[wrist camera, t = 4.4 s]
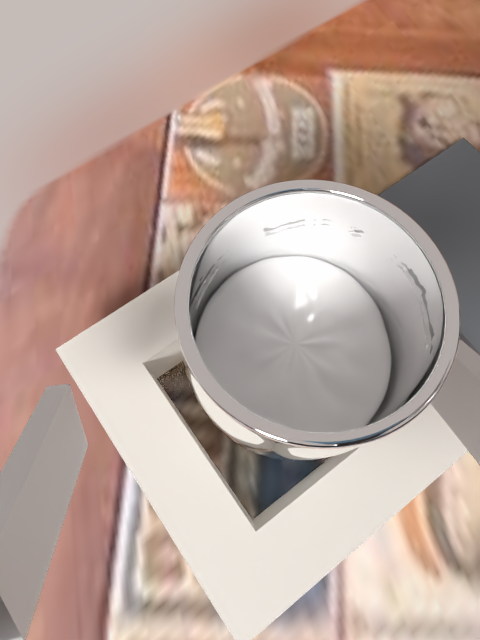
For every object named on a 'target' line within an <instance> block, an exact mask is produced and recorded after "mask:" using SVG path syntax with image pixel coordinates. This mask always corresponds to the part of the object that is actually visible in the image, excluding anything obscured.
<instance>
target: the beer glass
mask: <svg viewBox="0 0 480 640" xmlns="http://www.w3.org/2000/svg"><path fill="white" fill-rule="evenodd" d="M174 317H175V326H176V331H177V336H178V340H179V344H180V347H181V353H182V358H183V363H184V367H185V371H186V374H187V377H188V380H189V383H190V385H191V388H192V390H193V393H194V395H195V397H196V399H197V401H198V403H199V404H200V406H201V408H202V409H203V411H204V412H205V414H206V415H207V416H208V418H209V419H210V420H211V421H212V422H213V423H214V425H215V426H216V427H217V428H218V429H219V430H221V431H222V432H223V433H224V434H225V435H226V436H227V437H229V438H230V439H231V440H233V441H234V442H236V443H237V444H239V445H240V446H242V447H244V448H246V449H248V450H250V451H252V452H254V453H257V454H260V455H263V456H266V457H270V458H274V459H279V460H287V461H311V460H318V459H323V458H327V457H332V456H336V455H340V454H343V453H346V452H348V451H351V450H353V449H355V448H358V447H360V446H362V445H364V444H367V443H370V442H373V441H376V440H379V439H381V438H384V437H386V436H388V435H390V434H392V433H394V432H396V431H397V430H399V429H401V428H402V427H404V426H405V425H407V424H408V423H410V422H411V421H412V420H414V419H415V418H416V417H417V416H418V415H419V414H420V413H422V412H423V411H424V410H425V409H426V408H427V406H428V405H429V404H430V403H431V402H432V401H433V400H434V398H435V397H436V396H437V394H438V393H439V391H440V390H441V388H442V387H443V385H444V383H445V382H446V380H447V378H448V376H449V374H450V371H451V369H452V366H453V364H454V361H455V358H456V354H457V350H458V345H459V339H460V329H461V316H460V305H459V299H458V294H457V290H456V287H455V283H454V280H453V277H452V275H451V272H450V270H449V268H448V265H447V263H446V261H445V259H444V258H443V256H442V254H441V253H440V251H439V249H438V248H437V246H436V245H435V243H434V242H433V241H432V239H431V238H430V237H429V236H428V234H427V233H426V232H425V231H424V230H423V229H422V228H421V227H420V226H419V225H418V224H417V223H416V222H415V221H414V220H413V219H412V218H411V217H410V216H408V215H407V214H406V213H405V212H403V211H402V210H401V209H399V208H398V207H396V206H395V205H393V204H392V203H390V202H388V201H387V200H385V199H383V198H381V197H379V196H377V195H375V194H373V193H371V192H369V191H366V190H363V189H361V188H358V187H355V186H351V185H348V184H344V183H339V182H333V181H326V180H293V181H285V182H280V183H275V184H271V185H268V186H264V187H261V188H258V189H256V190H253V191H251V192H249V193H247V194H245V195H243V196H241V197H239V198H237V199H235V200H234V201H232V202H231V203H229V204H228V205H226V206H225V207H224V208H222V209H221V210H220V211H219V212H217V213H216V214H215V215H214V216H213V217H212V218H211V219H210V220H209V221H208V222H207V223H206V224H205V225H204V226H203V228H202V229H201V230H200V231H199V233H198V234H197V236H196V237H195V238H194V240H193V242H192V243H191V245H190V247H189V248H188V250H187V253H186V255H185V257H184V259H183V262H182V264H181V267H180V270H179V274H178V278H177V283H176V288H175V297H174Z"/></svg>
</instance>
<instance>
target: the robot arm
mask: <svg viewBox="0 0 480 640" xmlns="http://www.w3.org/2000/svg"><path fill="white" fill-rule="evenodd" d="M431 405H432V406H433V407H434V408H435V410H436V411H437V412H438V413H439V415H440V416H441V417H442V418H443V420H444V421H445V422H446V423H447V425H448V426H449V427H450V428H451V430H452V431H453V432H454V433H455V435H456V436H457V437H458V438H459V440H460V441H461V442H462V443H463V445H464V446H465V447H466V448H467V450H468V451H469V452H470V454H471V455H472V456H473V457H474V459H475V460H476V461H477V462H478V464H479V465H480V356H479V355H478V354H477V353H476V352H475V351H474V350H472V349H471V348H470V347H469V346H468V345H467V344H465V343H464V342H463V341H462V340H459V345H458V350H457V354H456V358H455V361H454V364H453V366H452V369H451V371H450V374H449V376H448V378H447V380H446V382H445V383H444V385H443V387H442V388H441V390H440V391H439V393H438V394H437V396H436V397H435V398H434V400H433V401H432V402H431ZM87 447H88V443H87V440H86V437H85V433H84V430H83V427H82V423H81V420H80V417H79V413H78V410H77V407H76V403H75V400H74V397H73V393H72V390H71V387H70V384H64V385H55V386H47V387H46V389H45V391H44V393H43V395H42V397H41V399H40V400H39V402H38V404H37V406H36V408H35V410H34V412H33V413H32V415H31V417H30V419H29V421H28V423H27V425H26V426H25V428H24V430H23V432H22V434H21V436H20V438H19V440H18V441H17V443H16V445H15V447H14V449H13V451H12V453H11V454H10V456H9V458H8V460H7V462H6V464H5V466H4V467H3V469H2V471H1V473H0V640H26V638H27V634H28V631H29V628H30V625H31V622H32V619H33V616H34V613H35V610H36V606H37V603H38V600H39V597H40V594H41V591H42V588H43V585H44V581H45V578H46V575H47V572H48V569H49V566H50V563H51V560H52V556H53V553H54V550H55V547H56V544H57V541H58V538H59V535H60V531H61V528H62V525H63V522H64V519H65V516H66V513H67V510H68V507H69V503H70V500H71V497H72V494H73V491H74V488H75V485H76V482H77V478H78V475H79V472H80V469H81V466H82V463H83V460H84V457H85V453H86V450H87Z"/></svg>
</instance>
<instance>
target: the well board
mask: <svg viewBox="0 0 480 640" xmlns="http://www.w3.org/2000/svg"><path fill="white" fill-rule="evenodd" d="M178 274H179V271H177V272H175V273H174V274H172V275H171V276H169V277H168V278H166V279H165V280H163V281H161V282H160V283H158V284H157V285H155V286H154V287H152V288H150V289H149V290H147V291H146V292H144V293H143V294H141V295H140V296H138V297H136V298H135V299H133V300H132V301H130V302H129V303H127V304H126V305H124V306H122V307H121V308H119V309H118V310H116V311H115V312H113V313H111V314H110V315H108V316H107V317H105V318H104V319H102V320H101V321H99V322H97V323H96V324H94V325H93V326H91V327H90V328H88V329H87V330H85V331H83V332H82V333H80V334H79V335H77V336H76V337H74V338H72V339H71V340H69V341H68V342H66V343H65V344H63V345H62V346H60V347H58V348H57V349H56V351H57V353H58V354H59V356H60V358H61V359H62V361H63V362H64V364H65V366H66V367H67V369H68V371H69V372H70V374H71V375H72V377H73V379H74V380H75V382H76V384H77V385H78V387H79V388H80V390H81V392H82V393H83V395H84V397H85V398H86V400H87V401H88V403H89V405H90V406H91V408H92V410H93V411H94V413H95V414H96V416H97V418H98V419H99V421H100V423H101V424H102V426H103V427H104V429H105V431H106V432H107V434H108V435H109V437H110V439H111V440H112V442H113V444H114V445H115V447H116V448H117V450H118V452H119V453H120V455H121V457H122V458H123V460H124V461H125V463H126V465H127V466H128V468H129V470H130V471H131V473H132V474H133V476H134V478H135V479H136V481H137V483H138V484H139V486H140V487H141V489H142V491H143V492H144V494H145V496H146V497H147V499H148V500H149V502H150V504H151V505H152V507H153V509H154V510H155V512H156V513H157V515H158V517H159V518H160V520H161V522H162V523H163V525H164V526H165V528H166V530H167V531H168V533H169V535H170V536H171V538H172V539H173V541H174V543H175V544H176V546H177V547H178V549H179V551H180V552H181V554H182V556H183V557H184V559H185V560H186V562H187V564H188V565H189V567H190V569H191V570H192V572H193V573H194V575H195V577H196V578H197V580H198V582H199V583H200V585H201V586H202V588H203V590H204V591H205V593H206V595H207V596H208V598H209V599H210V601H211V603H212V604H213V606H214V608H215V609H216V611H217V612H218V614H219V616H220V617H221V619H222V621H223V622H224V624H225V625H226V627H227V629H228V630H229V632H230V634H231V635H232V637H233V638H234V640H252V639H253V638H255V637H256V636H257V635H258V634H259V633H260V632H261V631H263V630H264V629H265V628H266V627H267V626H268V625H269V624H271V623H272V622H273V621H274V620H275V619H276V618H277V617H279V616H280V615H281V614H282V613H283V612H284V611H285V610H287V609H288V608H289V607H290V606H291V605H292V604H293V603H295V602H296V601H297V600H298V599H299V598H300V597H301V596H303V595H304V594H305V593H306V592H307V591H308V590H310V589H311V588H312V587H313V586H314V585H315V584H316V583H318V582H319V581H320V580H321V579H322V578H323V577H324V576H326V575H327V574H328V573H329V572H330V571H331V570H332V569H334V568H335V567H336V566H337V565H338V564H339V563H340V562H342V561H343V560H344V559H345V558H346V557H347V556H348V555H350V554H351V553H352V552H353V551H354V550H355V549H356V548H358V547H359V546H360V545H361V544H362V543H363V542H364V541H366V540H367V539H368V538H369V537H370V536H371V535H372V534H374V533H375V532H376V531H377V530H378V529H379V528H380V527H382V526H383V525H384V524H385V523H386V522H387V521H388V520H390V519H391V518H392V517H393V516H394V515H395V514H396V513H398V512H399V511H400V510H401V509H402V508H403V507H404V506H406V505H407V504H408V503H409V502H410V501H411V500H412V499H414V498H415V497H416V496H417V495H418V494H419V493H421V492H422V491H423V490H424V489H425V488H426V487H427V486H429V485H430V484H431V483H432V482H433V481H434V480H435V479H437V478H438V477H439V476H440V475H441V474H442V473H443V472H445V471H446V470H447V469H448V468H449V467H450V466H451V465H453V464H454V463H455V462H456V461H457V460H458V459H459V458H461V457H462V456H463V455H464V454H465V453H466V452H467V451H468V450H467V448H466V447H465V446H464V445H463V443H462V442H461V441H460V440H459V438H458V437H457V436H456V435H455V433H454V432H453V431H452V430H451V428H450V427H449V426H448V425H447V423H446V422H445V421H444V420H443V418H442V417H441V416H440V415H439V413H438V412H437V411H436V410H435V408H434V407H433V406H432V405H431V403H430V404H429V405H428V406H427V408H426V409H425V410H424V411H423V412H422V413H420V414H419V415H418V416H417V417H416V418H415V419H414V420H412V421H411V422H410V423H408V424H407V425H405V426H404V427H402V428H401V429H399V430H397V431H396V432H394V433H392V434H390V435H388V436H386V437H384V438H381V439H379V440H376V441H373V442H370V443H367V444H364V445H362V446H360V447H358V448H355V449H353V450H351V451H348V452H346V453H343V454H340V455H336V456H332V457H330V458H329V459H327V460H326V461H325V462H324V463H322V464H321V465H320V466H319V467H317V468H316V469H315V470H314V471H312V472H311V473H310V474H309V475H308V476H306V477H305V478H304V479H303V480H301V481H300V482H299V483H298V484H296V485H295V486H294V487H293V488H291V489H290V490H289V491H288V492H286V493H285V494H284V495H283V496H281V497H280V498H279V499H278V500H277V501H275V502H274V503H273V504H272V505H270V506H269V507H268V508H267V509H265V510H264V511H263V512H262V513H260V514H259V515H258V516H257V517H255V518H254V519H253V520H252V519H251V517H250V516H249V514H248V513H247V511H246V510H245V508H244V507H243V505H242V504H241V502H240V501H239V499H238V498H237V496H236V495H235V494H234V492H233V491H232V489H231V488H230V486H229V485H228V483H227V482H226V480H225V479H224V477H223V476H222V474H221V473H220V471H219V470H218V468H217V467H216V465H215V464H214V462H213V461H212V459H211V458H210V457H209V455H208V454H207V452H206V451H205V449H204V448H203V446H202V445H201V443H200V442H199V440H198V439H197V437H196V436H195V434H194V433H193V431H192V430H191V428H190V427H189V425H188V424H187V423H186V421H185V420H184V418H183V417H182V415H181V414H180V412H179V411H178V409H177V408H176V406H175V405H174V403H173V402H172V400H171V399H170V397H169V396H168V394H167V393H166V391H165V390H164V388H163V387H162V386H161V384H160V383H159V381H158V380H157V378H159V377H160V376H161V375H163V374H164V373H166V372H167V371H169V370H170V369H172V368H173V367H174V366H176V365H177V364H179V363H180V362H182V361H183V358H182V353H181V347H180V344H179V340H178V336H177V331H176V326H175V317H174V297H175V288H176V283H177V278H178Z"/></svg>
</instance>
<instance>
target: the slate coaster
mask: <svg viewBox="0 0 480 640" xmlns="http://www.w3.org/2000/svg"><path fill="white" fill-rule="evenodd" d="M378 196H379V197H381V198H383V199H385V200H387V201H388V202H390V203H392V204H393V205H395V206H396V207H398V208H399V209H401V210H402V211H403V212H405V213H406V214H407V215H408V216H410V217H411V218H412V219H413V220H414V221H415V222H416V223H417V224H418V225H419V226H420V227H421V228H422V229H423V230H424V231H425V232H426V233H427V234H428V236H429V237H430V238H431V239H432V241H433V242H434V243H435V245H436V246H437V248H438V249H439V251H440V253H441V254H442V256H443V258H444V259H445V261H446V263H447V265H448V268H449V270H450V272H451V275H452V277H453V280H454V283H455V287H456V290H457V294H458V299H459V305H460V316H461V329H460V340H462V341H463V342H464V343H465V344H467V345H468V346H469V347H470V348H471V349H472V350H474V351H475V352H476V353H477V354H478V355H479V356H480V152H479V151H477V150H476V149H475V148H474V147H473V146H472V145H471V144H470V143H469V142H468V141H467V140H466V139H464V138H462V139H461V140H459V141H458V142H456V143H455V144H453V145H452V146H450V147H449V148H447V149H446V150H445V151H443V152H442V153H440V154H439V155H437V156H436V157H434V158H433V159H431V160H430V161H428V162H427V163H425V164H424V165H422V166H421V167H419V168H418V169H416V170H415V171H413V172H412V173H410V174H409V175H407V176H406V177H404V178H403V179H401V180H400V181H398V182H397V183H395V184H394V185H393V186H391V187H390V188H388V189H387V190H385V191H384V192H382V193H381V194H379V195H378Z"/></svg>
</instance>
